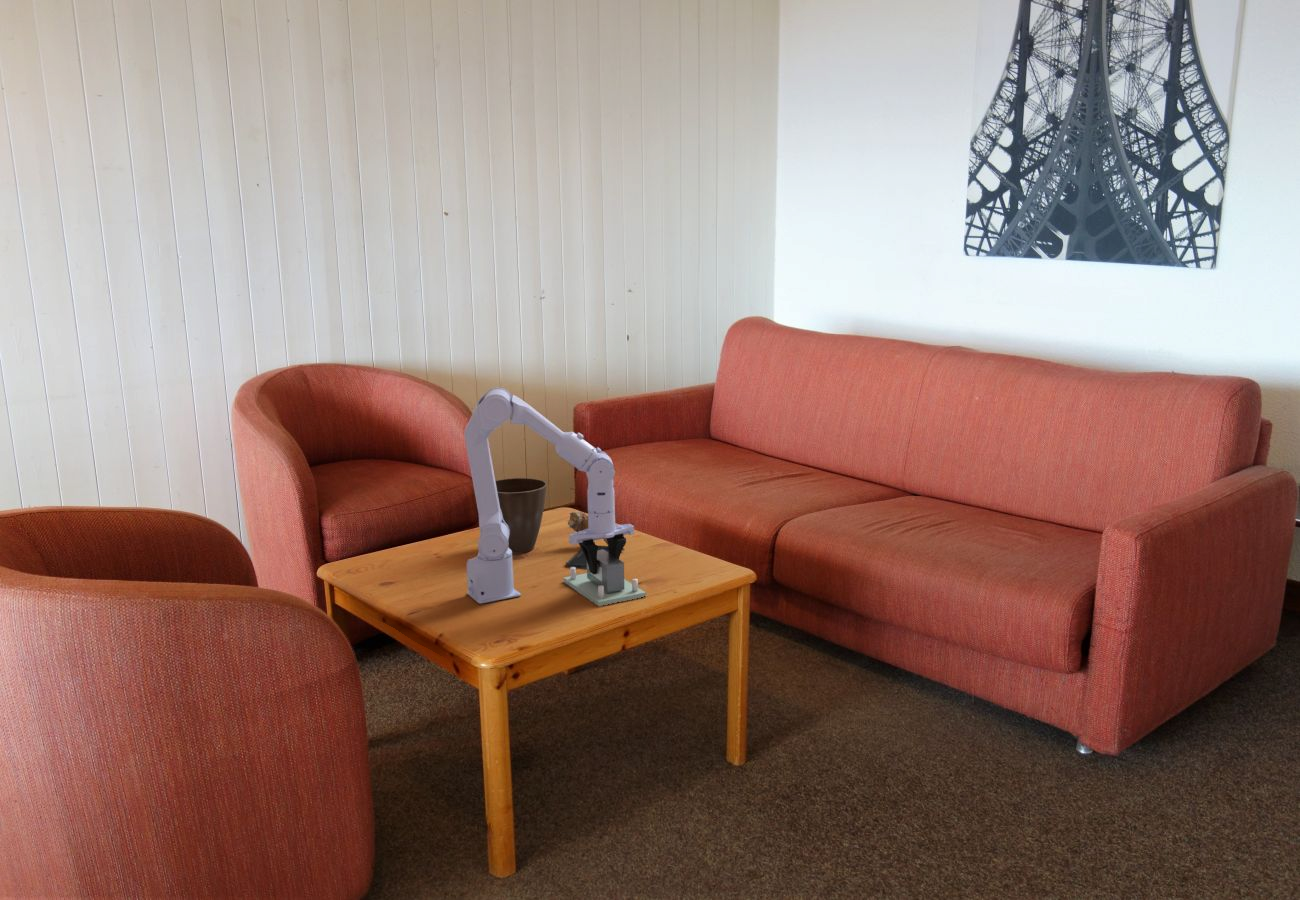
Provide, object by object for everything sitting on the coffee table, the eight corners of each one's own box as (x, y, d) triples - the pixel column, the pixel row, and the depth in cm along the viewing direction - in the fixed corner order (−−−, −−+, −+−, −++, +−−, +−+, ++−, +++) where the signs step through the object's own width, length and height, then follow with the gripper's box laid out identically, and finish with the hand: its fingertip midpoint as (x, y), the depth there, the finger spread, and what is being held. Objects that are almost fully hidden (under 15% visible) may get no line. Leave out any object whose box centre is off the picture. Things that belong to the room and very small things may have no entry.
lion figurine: (565, 548, 268) (564, 512, 266) (575, 542, 273) (574, 507, 271) (619, 555, 262) (618, 518, 260) (629, 549, 267) (628, 513, 265)
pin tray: (599, 606, 229) (598, 590, 228) (563, 581, 244) (562, 566, 243) (645, 596, 234) (645, 581, 233) (608, 573, 249) (607, 558, 248)
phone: (617, 546, 266) (596, 566, 252) (617, 551, 266) (596, 570, 252) (586, 544, 268) (564, 563, 254) (586, 549, 268) (564, 568, 254)
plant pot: (478, 545, 272) (475, 482, 268) (535, 536, 278) (532, 474, 275) (500, 562, 259) (496, 496, 255) (558, 551, 266) (556, 487, 262)
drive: (607, 592, 233) (606, 565, 231) (586, 578, 241) (586, 552, 240) (624, 589, 235) (624, 562, 233) (603, 575, 243) (603, 549, 242)
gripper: (578, 519, 228) (580, 582, 231) (640, 509, 235) (641, 570, 238) (564, 511, 234) (566, 572, 237) (625, 502, 241) (626, 561, 244)
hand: (603, 571), depth 238 cm, fingers closed on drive, 4 cm apart
